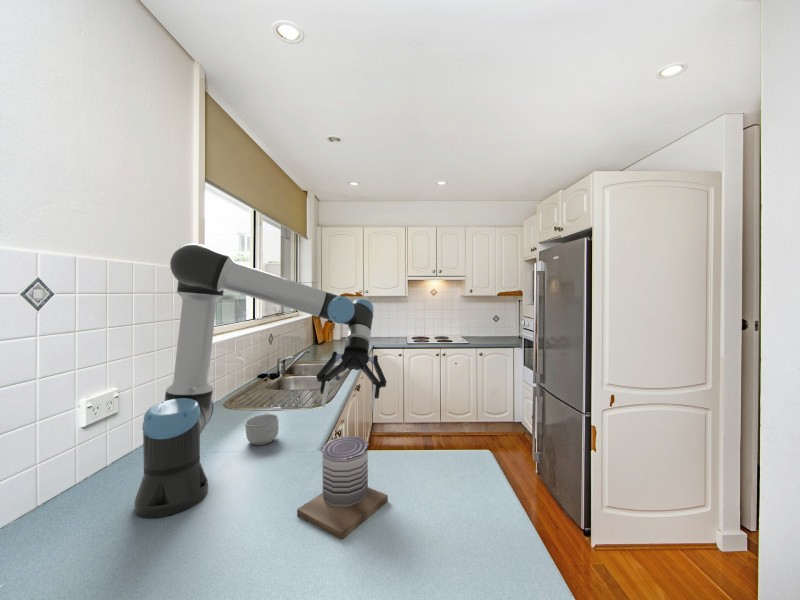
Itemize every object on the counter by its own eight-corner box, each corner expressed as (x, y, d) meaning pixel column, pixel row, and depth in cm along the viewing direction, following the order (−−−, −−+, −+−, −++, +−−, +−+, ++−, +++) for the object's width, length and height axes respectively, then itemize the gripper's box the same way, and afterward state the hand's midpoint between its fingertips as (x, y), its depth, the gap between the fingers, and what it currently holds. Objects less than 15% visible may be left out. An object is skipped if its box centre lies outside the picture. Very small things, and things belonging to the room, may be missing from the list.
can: (376, 496, 82) (376, 447, 82) (333, 513, 76) (332, 460, 76) (355, 476, 92) (354, 432, 92) (314, 490, 85) (314, 442, 85)
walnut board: (341, 539, 70) (341, 532, 70) (297, 515, 77) (297, 509, 77) (387, 501, 83) (387, 495, 83) (345, 483, 91) (345, 478, 91)
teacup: (271, 448, 112) (271, 424, 112) (239, 448, 113) (238, 424, 113) (286, 432, 126) (286, 410, 126) (257, 431, 127) (257, 410, 127)
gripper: (395, 351, 111) (391, 415, 97) (319, 345, 110) (304, 408, 96) (397, 339, 105) (393, 404, 91) (317, 331, 104) (300, 397, 90)
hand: (347, 406), depth 94 cm, fingers open, 13 cm apart
